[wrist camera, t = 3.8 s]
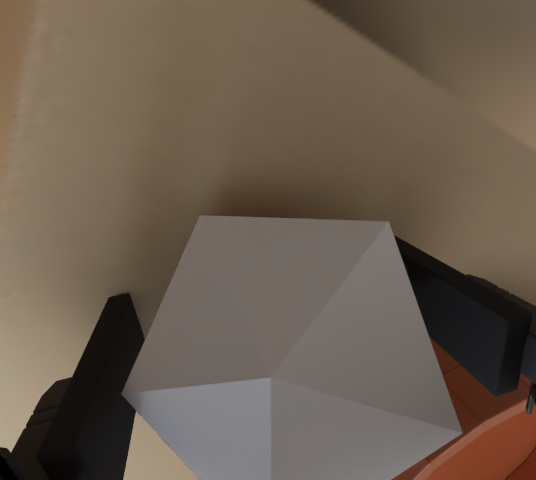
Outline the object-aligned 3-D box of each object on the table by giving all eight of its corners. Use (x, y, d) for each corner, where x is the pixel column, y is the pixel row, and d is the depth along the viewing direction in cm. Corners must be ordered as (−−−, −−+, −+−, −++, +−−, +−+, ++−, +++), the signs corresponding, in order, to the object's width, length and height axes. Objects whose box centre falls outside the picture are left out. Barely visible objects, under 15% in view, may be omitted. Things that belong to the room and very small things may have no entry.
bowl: (291, 351, 16) (339, 459, 11) (592, 269, 19) (741, 324, 14) (319, 556, 23) (356, 681, 18) (536, 473, 25) (621, 560, 20)
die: (149, 175, 12) (-31, 527, 6) (403, 102, 9) (564, 714, 3) (246, 287, 18) (204, 520, 12) (419, 268, 15) (481, 577, 9)
